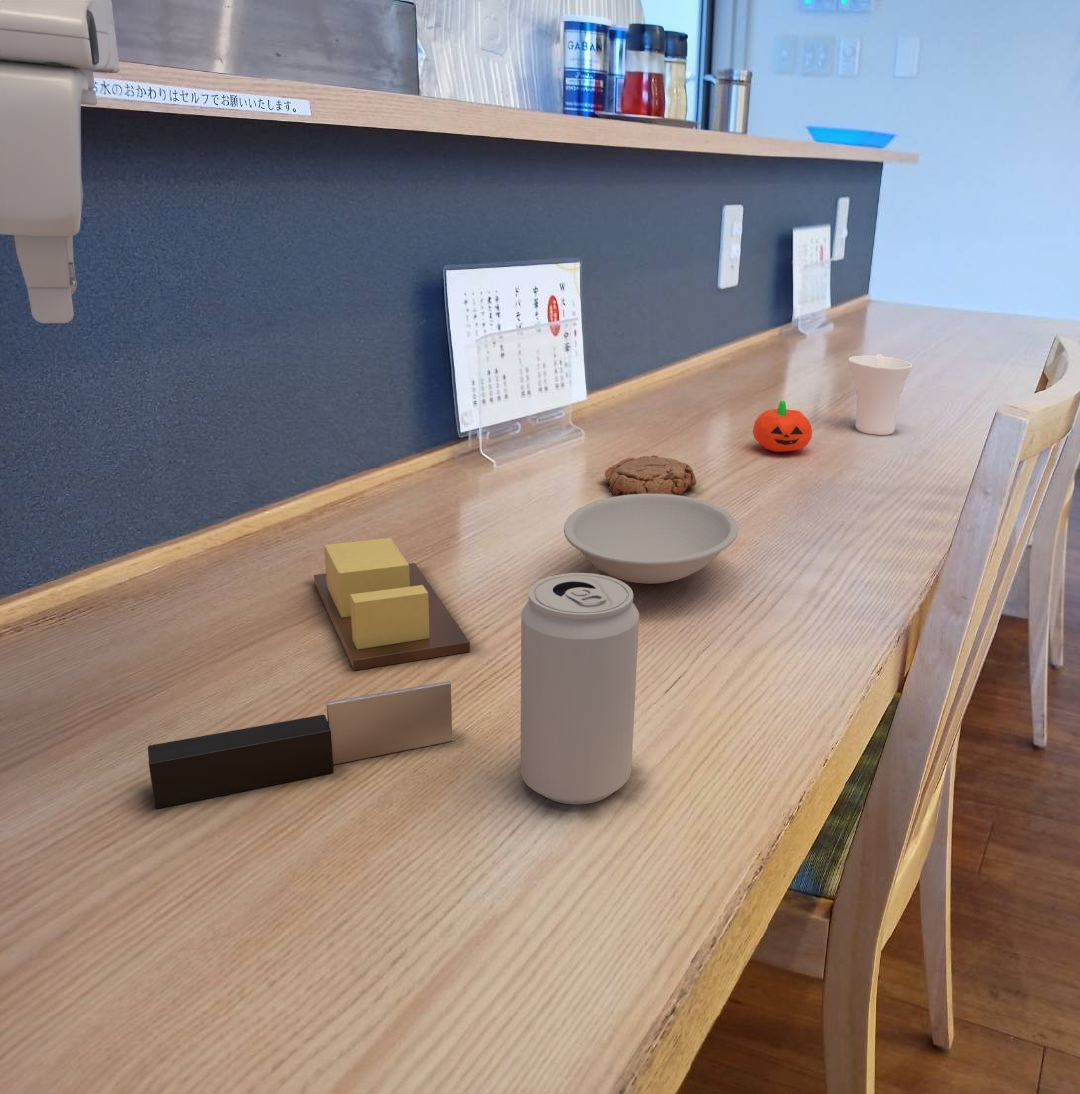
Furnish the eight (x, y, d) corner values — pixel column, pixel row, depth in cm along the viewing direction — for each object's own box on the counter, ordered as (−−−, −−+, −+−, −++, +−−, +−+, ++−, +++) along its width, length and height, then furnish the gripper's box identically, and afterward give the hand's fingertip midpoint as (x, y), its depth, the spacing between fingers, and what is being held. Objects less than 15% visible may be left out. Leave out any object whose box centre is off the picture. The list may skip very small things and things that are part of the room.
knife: (155, 809, 55) (145, 744, 54) (153, 789, 57) (144, 725, 55) (456, 748, 63) (454, 689, 61) (447, 731, 64) (445, 674, 63)
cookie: (609, 504, 107) (610, 476, 106) (601, 473, 117) (602, 448, 116) (704, 505, 109) (706, 477, 108) (688, 475, 119) (689, 449, 118)
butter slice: (356, 650, 72) (354, 602, 70) (352, 641, 73) (349, 594, 72) (429, 638, 74) (428, 592, 73) (424, 630, 75) (422, 584, 74)
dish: (705, 633, 80) (709, 574, 78) (530, 604, 83) (531, 545, 81) (752, 557, 96) (756, 506, 94) (605, 534, 99) (606, 484, 97)
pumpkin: (822, 452, 133) (827, 403, 131) (781, 461, 127) (786, 410, 125) (779, 439, 137) (784, 391, 135) (738, 448, 132) (742, 398, 130)
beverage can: (592, 739, 65) (598, 560, 60) (652, 788, 60) (663, 599, 56) (500, 770, 61) (499, 581, 57) (557, 825, 56) (560, 625, 52)
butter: (341, 618, 76) (338, 572, 75) (326, 587, 81) (324, 544, 80) (410, 608, 79) (409, 564, 77) (392, 579, 83) (390, 537, 82)
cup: (903, 425, 150) (912, 356, 147) (904, 441, 141) (914, 368, 138) (842, 418, 151) (849, 350, 148) (839, 434, 142) (847, 361, 139)
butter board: (353, 670, 71) (353, 660, 70) (314, 583, 83) (313, 574, 83) (470, 651, 74) (470, 641, 74) (415, 571, 87) (415, 562, 87)
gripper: (-41, 31, 59) (1, 280, 64) (-94, 2, 42) (-31, 341, 47) (89, 44, 62) (120, 281, 67) (87, 22, 45) (128, 338, 50)
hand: (57, 306), depth 57 cm, fingers open, 8 cm apart
